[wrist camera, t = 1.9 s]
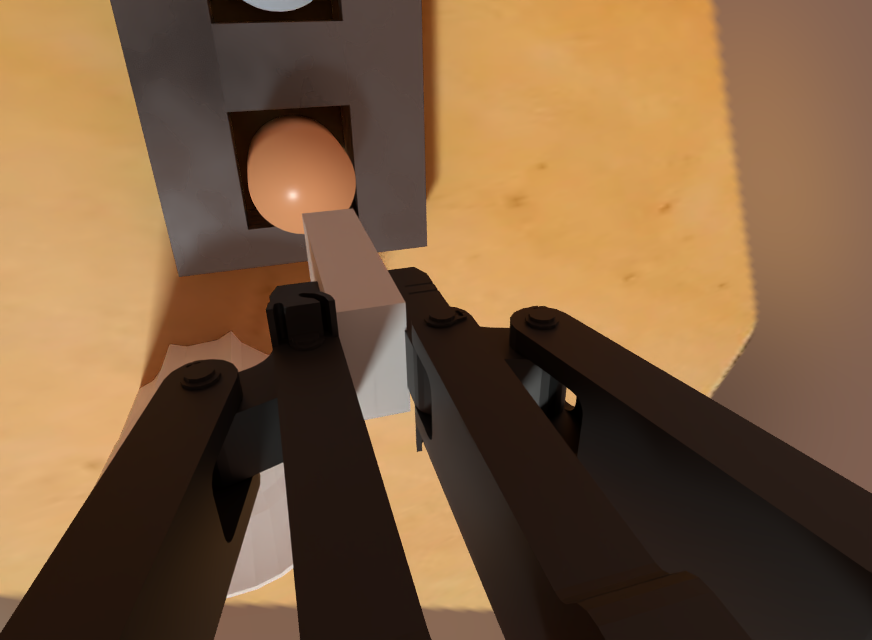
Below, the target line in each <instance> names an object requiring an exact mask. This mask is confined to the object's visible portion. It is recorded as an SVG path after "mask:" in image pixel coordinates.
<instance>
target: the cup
mask: <svg viewBox="0 0 872 640" xmlns="http://www.w3.org/2000/svg"><path fill="white" fill-rule="evenodd" d="M268 356H269V355H268V354H265V353H263V352H261V351H259V350H256V349H254V348H252V347H250V346H248V345H246V344H244V343H242V342H241V341H240V340H239V339H238V338H237V337H236V335H235V334H234V333H233V332H232V331H230V332H229V333H227V334H226V335H224V336H223V337H221V338H220V339H218V340H214V341H210V342H205V343H201V344H196V345H191V346H181V345H173V344H169V347H168V350H167V353H166V356H165V359H164V362H163V365H162V368H161V370H160V372H159V373H158V375H157V376H156V377H155V379H154V380H153V381H152V382H150V383H148V384H146V385H145V386H143V387H141V388H140V389H139V391H138V393H137V396H136V398H135V401H134V403H133V405H132V408H131V410H130V413H129V415H128V418H127V420H126V423H125V425H124V427H123V430H122V432H121V435H120V438H119V440H118V441H117V443H116V444H115V446H114V448H113V450H112V452H111V454H110V456H109V458H108V460H107V462H106V464H105V466H104V468H103V470H102V473H101V475H100V477H99V479H100V478H101V476H102V475H103V473H104V472H105V470H106V469H107V467H108V465H109V464H110V462H111V461H112V459H113V458H114V456H115V455H116V453H117V451H118V450H119V448H120V447H121V445H122V444H123V442H124V441H125V439H126V437H127V436H128V434H129V433H130V431H131V430H132V428H133V427H134V425H135V423H136V422H137V420H138V419H139V417H140V416H141V414H142V413H143V411H144V409H145V408H146V406H147V405H148V403H149V402H150V400H151V399H152V397H153V396H154V394H155V392H156V391H157V389H158V388H159V386H160V385H161V383H162V382H163V380H164V379H165V378H166V377H167V376H168V375H169V374H170V373H171V372H172V371H174V370H176V369H178V368H179V367H181V366H183V365H185V364H187V363H190V362H191V363H192V362H193V361H197V360H207V359H218V360H225V361H228V362H230V363H233V364H234V365H235V367H236V368H237V369H238V372H240V371H243V370H246V369H248V368H250V367H253V366H255V365H257V364H259V363H261V362H262V361H264V360H265V359H266V358H267V357H268ZM99 479H98V481H99ZM98 481H97V482H98ZM96 484H97V483H96ZM95 486H96V485H95ZM291 569H293V559H292V548H291V538H290V527H289V517H288V506H287V496H286V485H285V474H284V464H283V463H281V464H279V465H276V466H274V467H272V468H270V469H267V470H265V471H263V472H261V473H260V487H259V490H258V493H257V497H256V500H255V503H254V507H253V510H252V513H251V517H250V520H249V523H248V527H247V530H246V533H245V537H244V540H243V543H242V547H241V550H240V553H239V557H238V560H237V563H236V567H235V570H234V573H233V577H232V580H231V583H230V587H229V590H228V593H227V597H226V598H230V597H233V596H236V595H240V594H243V593H246V592H249V591H253V590H256V589H258V588H260V587H262V586H264V585H266V584H268V583H270V582H272V581H274V580H276V579H278V578H280V577H282V576H283V575H285V574H286V573H287V572H289V571H290V570H291Z"/></svg>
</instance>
